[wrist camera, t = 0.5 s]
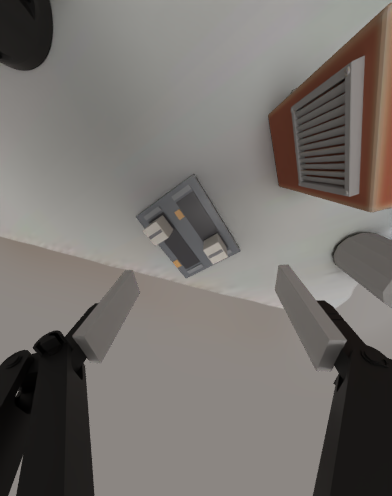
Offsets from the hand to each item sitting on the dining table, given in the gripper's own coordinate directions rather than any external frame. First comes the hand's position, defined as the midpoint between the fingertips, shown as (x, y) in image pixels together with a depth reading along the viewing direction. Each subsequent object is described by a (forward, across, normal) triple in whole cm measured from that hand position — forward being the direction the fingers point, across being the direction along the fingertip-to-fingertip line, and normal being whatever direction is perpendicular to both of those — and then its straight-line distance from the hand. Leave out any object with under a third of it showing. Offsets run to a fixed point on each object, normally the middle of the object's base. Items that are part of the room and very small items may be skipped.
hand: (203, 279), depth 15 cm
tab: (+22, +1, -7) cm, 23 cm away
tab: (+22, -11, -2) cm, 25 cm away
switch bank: (+24, -5, -5) cm, 25 cm away
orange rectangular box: (+24, +16, +11) cm, 31 cm away
